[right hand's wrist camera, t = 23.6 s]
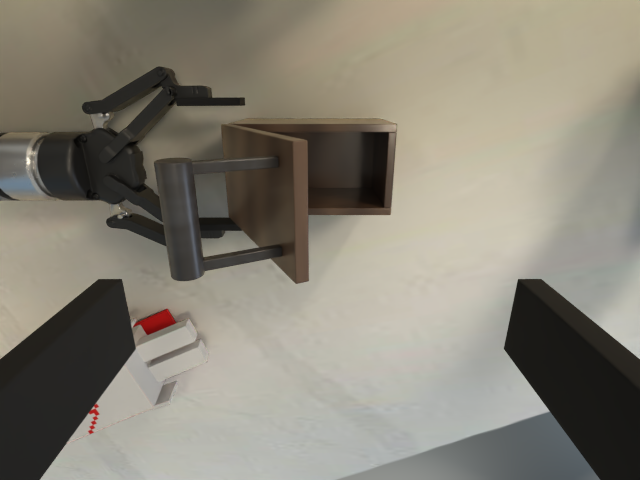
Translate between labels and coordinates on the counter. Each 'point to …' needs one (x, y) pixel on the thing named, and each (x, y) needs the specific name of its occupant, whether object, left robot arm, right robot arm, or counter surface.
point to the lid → (241, 203)
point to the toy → (147, 371)
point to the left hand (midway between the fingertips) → (247, 166)
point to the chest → (342, 162)
